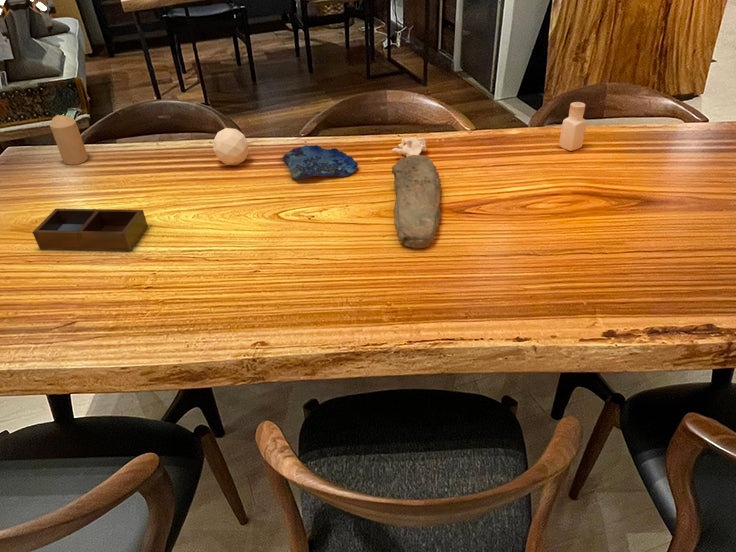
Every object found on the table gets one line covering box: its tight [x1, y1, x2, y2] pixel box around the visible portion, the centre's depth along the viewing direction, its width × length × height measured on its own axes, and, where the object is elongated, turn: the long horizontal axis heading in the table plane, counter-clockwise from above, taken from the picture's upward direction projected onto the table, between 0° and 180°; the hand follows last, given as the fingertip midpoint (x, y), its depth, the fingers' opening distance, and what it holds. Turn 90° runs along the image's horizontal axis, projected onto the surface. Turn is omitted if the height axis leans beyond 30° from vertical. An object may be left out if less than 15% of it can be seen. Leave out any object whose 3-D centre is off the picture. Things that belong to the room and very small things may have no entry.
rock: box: [282, 144, 359, 180], centre depth 138 cm, size 15×17×2 cm
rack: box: [32, 208, 149, 252], centre depth 116 cm, size 17×9×4 cm, turn 85°
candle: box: [49, 114, 89, 166], centre depth 141 cm, size 6×6×10 cm
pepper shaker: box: [558, 101, 588, 152], centre depth 138 cm, size 4×4×10 cm
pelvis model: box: [391, 136, 428, 158], centre depth 140 cm, size 8×4×7 cm
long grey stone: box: [391, 154, 442, 249], centre depth 122 cm, size 35×5×10 cm
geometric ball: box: [212, 127, 249, 166], centre depth 138 cm, size 8×8×8 cm
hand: (28, 33), depth 136 cm, fingers open, 8 cm apart
